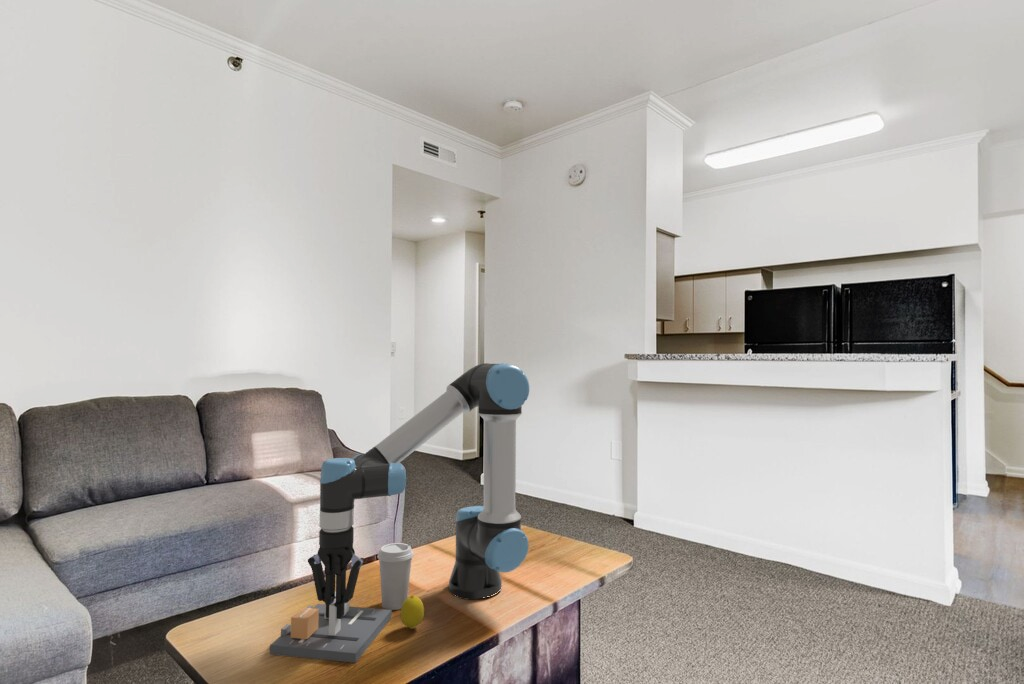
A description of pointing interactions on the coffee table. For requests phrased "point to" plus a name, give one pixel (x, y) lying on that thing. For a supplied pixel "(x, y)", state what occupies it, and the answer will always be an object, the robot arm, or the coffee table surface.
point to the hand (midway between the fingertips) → (334, 631)
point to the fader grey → (346, 607)
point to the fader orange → (304, 623)
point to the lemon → (412, 612)
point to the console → (335, 636)
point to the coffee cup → (394, 574)
